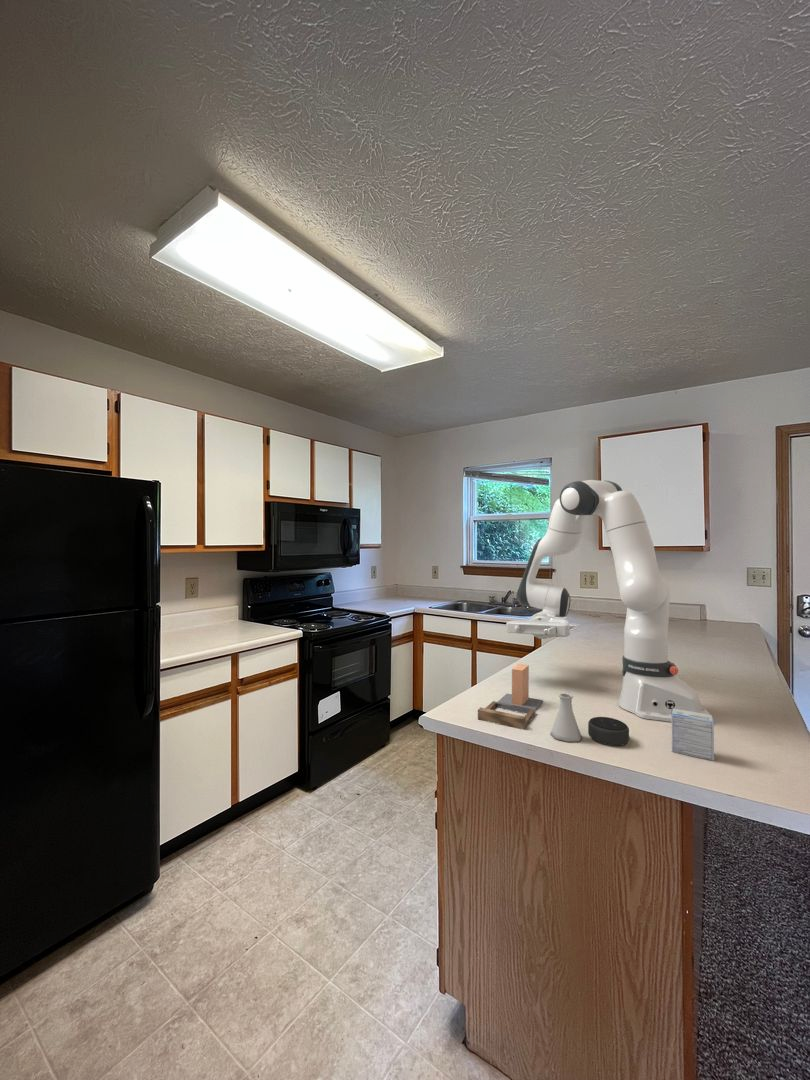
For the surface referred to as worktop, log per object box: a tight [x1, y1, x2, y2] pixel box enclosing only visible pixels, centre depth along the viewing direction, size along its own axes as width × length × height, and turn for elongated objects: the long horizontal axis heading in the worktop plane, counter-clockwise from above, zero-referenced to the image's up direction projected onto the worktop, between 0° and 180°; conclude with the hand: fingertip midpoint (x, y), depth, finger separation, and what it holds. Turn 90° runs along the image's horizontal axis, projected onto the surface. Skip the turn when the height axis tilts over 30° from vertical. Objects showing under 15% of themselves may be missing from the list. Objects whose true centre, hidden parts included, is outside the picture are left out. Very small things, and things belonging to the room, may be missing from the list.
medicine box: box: [671, 709, 715, 761], centre depth 98 cm, size 8×4×9 cm, turn 58°
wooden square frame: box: [477, 700, 537, 730], centre depth 118 cm, size 12×12×2 cm
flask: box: [550, 692, 583, 743], centre depth 106 cm, size 7×7×10 cm
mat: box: [497, 693, 544, 711], centre depth 129 cm, size 11×9×1 cm
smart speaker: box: [587, 716, 630, 747], centre depth 105 cm, size 9×9×4 cm
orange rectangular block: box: [511, 663, 530, 705], centre depth 129 cm, size 3×7×10 cm, turn 149°
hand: (531, 631), depth 138 cm, fingers open, 8 cm apart
